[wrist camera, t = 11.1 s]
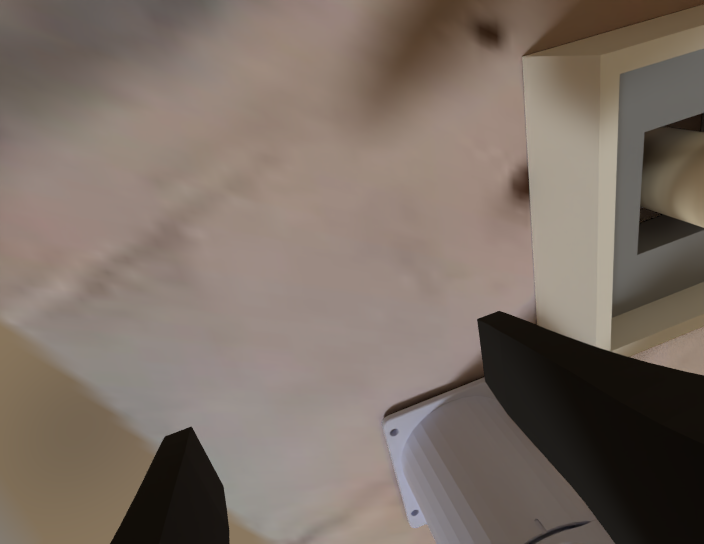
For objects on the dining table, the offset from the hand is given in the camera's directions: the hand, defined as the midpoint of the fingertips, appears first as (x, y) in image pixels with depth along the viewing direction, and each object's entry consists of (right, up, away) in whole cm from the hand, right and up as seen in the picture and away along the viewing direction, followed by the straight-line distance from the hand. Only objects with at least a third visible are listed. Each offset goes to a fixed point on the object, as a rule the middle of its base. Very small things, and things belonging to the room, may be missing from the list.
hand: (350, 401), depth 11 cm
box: (+15, +8, +13) cm, 22 cm away
